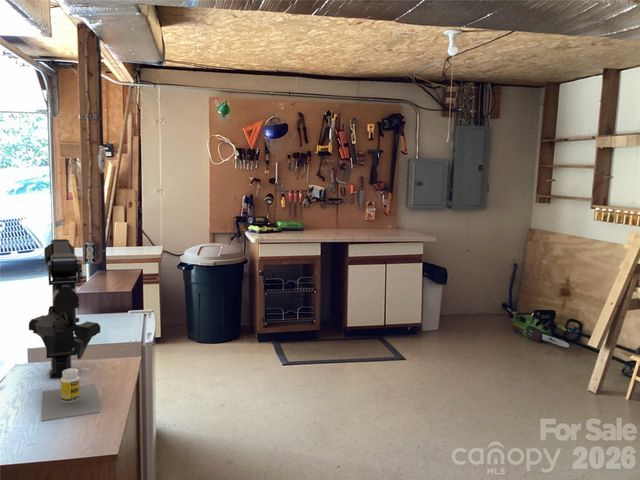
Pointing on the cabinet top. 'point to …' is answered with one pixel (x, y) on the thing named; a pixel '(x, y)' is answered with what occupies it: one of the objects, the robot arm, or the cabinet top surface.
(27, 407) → the cabinet top surface
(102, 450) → the cabinet top surface
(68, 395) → the supplement bottle
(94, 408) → the flat gray panel
